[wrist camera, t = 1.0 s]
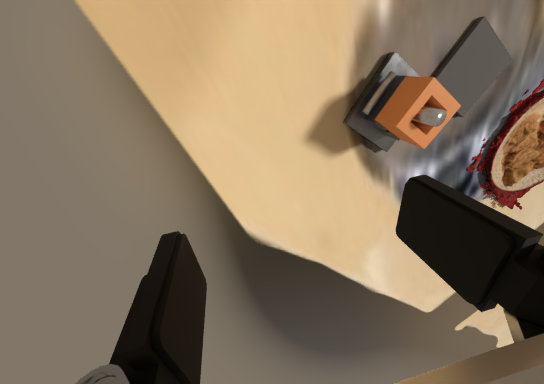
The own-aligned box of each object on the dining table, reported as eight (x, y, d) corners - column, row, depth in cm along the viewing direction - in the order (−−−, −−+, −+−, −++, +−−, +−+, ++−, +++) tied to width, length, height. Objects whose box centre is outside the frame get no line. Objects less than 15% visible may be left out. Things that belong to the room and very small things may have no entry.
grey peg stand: (389, 52, 31) (453, 45, 22) (428, 91, 35) (495, 97, 26) (342, 122, 35) (382, 139, 26) (382, 149, 39) (428, 172, 30)
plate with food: (603, 108, 46) (630, 110, 43) (505, 206, 54) (521, 213, 51) (562, 41, 37) (592, 38, 34) (451, 171, 45) (468, 177, 42)
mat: (478, 17, 31) (484, 16, 30) (507, 59, 35) (512, 59, 34) (427, 84, 34) (431, 84, 34) (458, 116, 38) (462, 117, 38)
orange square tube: (406, 76, 29) (434, 77, 25) (432, 101, 32) (461, 105, 28) (374, 119, 31) (396, 126, 27) (401, 140, 34) (424, 148, 30)
